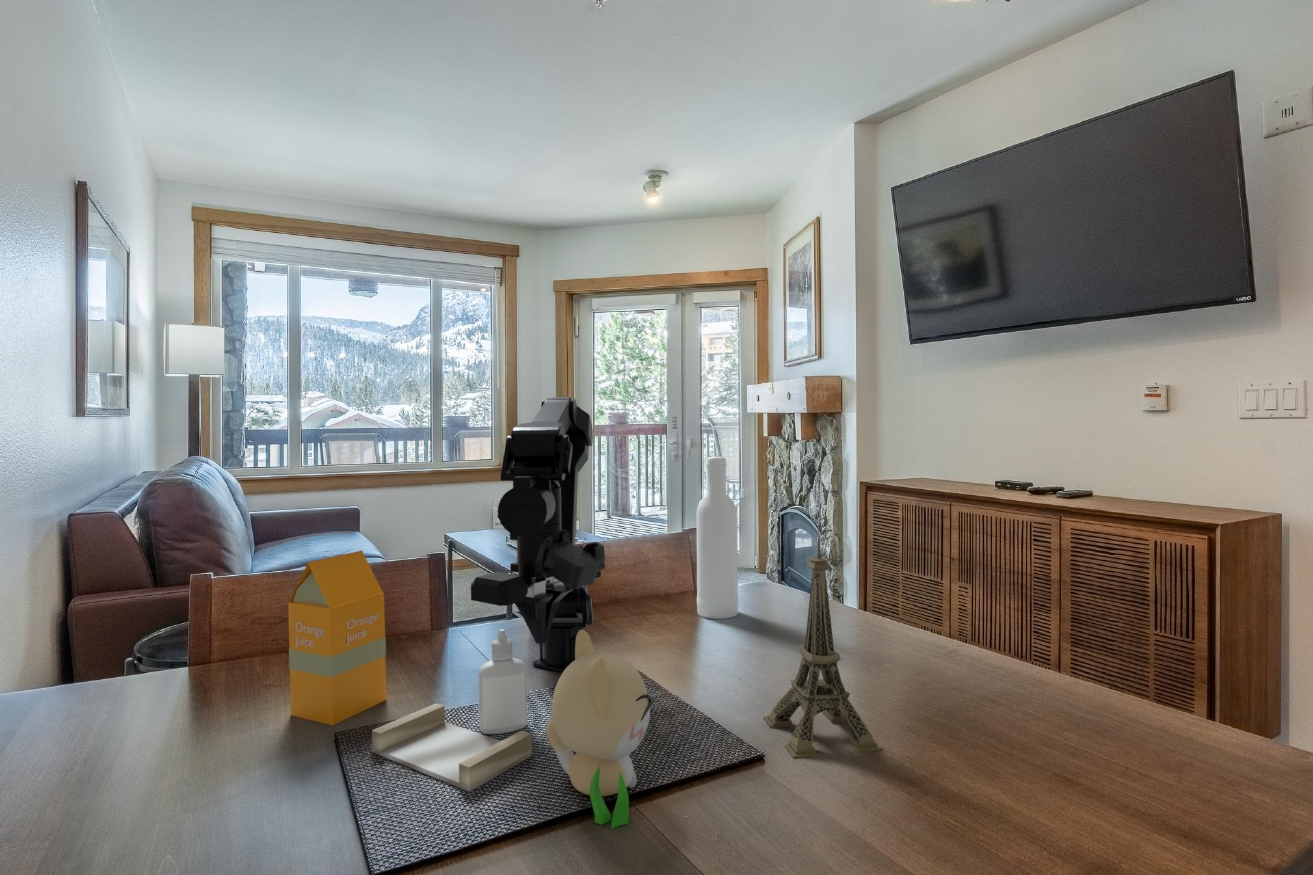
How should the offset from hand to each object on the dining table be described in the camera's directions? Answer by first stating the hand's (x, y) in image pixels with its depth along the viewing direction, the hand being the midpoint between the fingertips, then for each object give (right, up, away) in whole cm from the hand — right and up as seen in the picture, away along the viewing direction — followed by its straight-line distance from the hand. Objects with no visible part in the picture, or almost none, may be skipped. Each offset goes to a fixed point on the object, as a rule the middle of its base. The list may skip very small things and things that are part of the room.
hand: (540, 643), depth 92 cm
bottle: (+27, -7, +44) cm, 52 cm away
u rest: (-8, -9, -12) cm, 17 cm away
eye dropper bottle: (-4, -9, -5) cm, 11 cm away
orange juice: (-27, -9, +1) cm, 28 cm away
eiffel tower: (+34, -9, -8) cm, 36 cm away
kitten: (+10, -9, -20) cm, 24 cm away
